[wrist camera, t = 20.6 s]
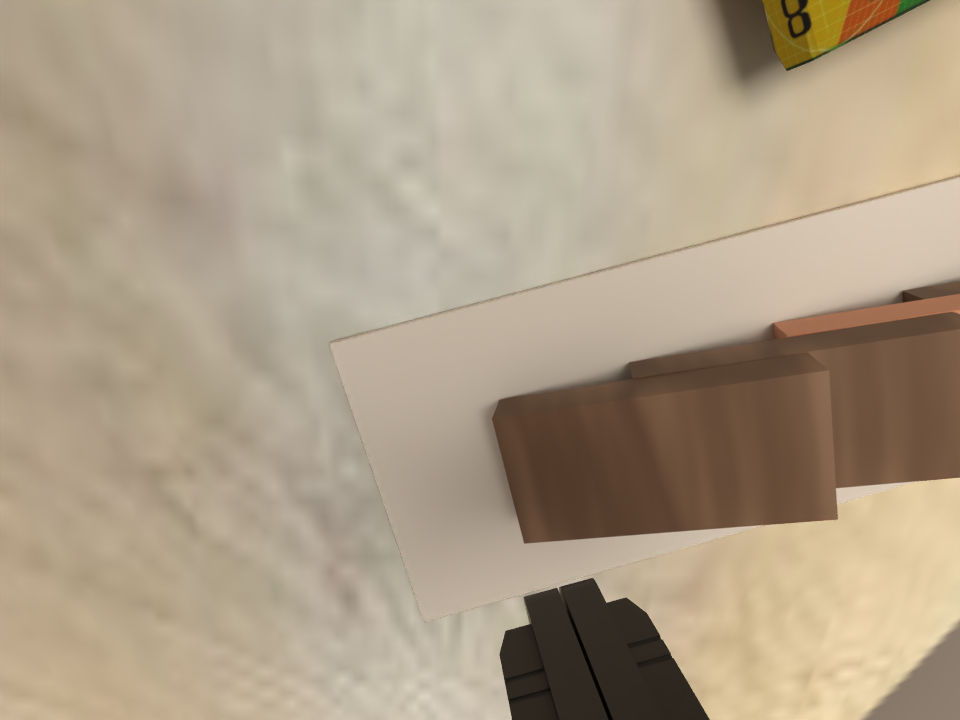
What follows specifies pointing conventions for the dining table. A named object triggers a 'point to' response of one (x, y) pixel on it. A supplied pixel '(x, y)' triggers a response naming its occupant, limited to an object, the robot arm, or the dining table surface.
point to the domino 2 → (867, 316)
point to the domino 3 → (871, 394)
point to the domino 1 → (673, 452)
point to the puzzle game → (825, 24)
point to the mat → (601, 376)
